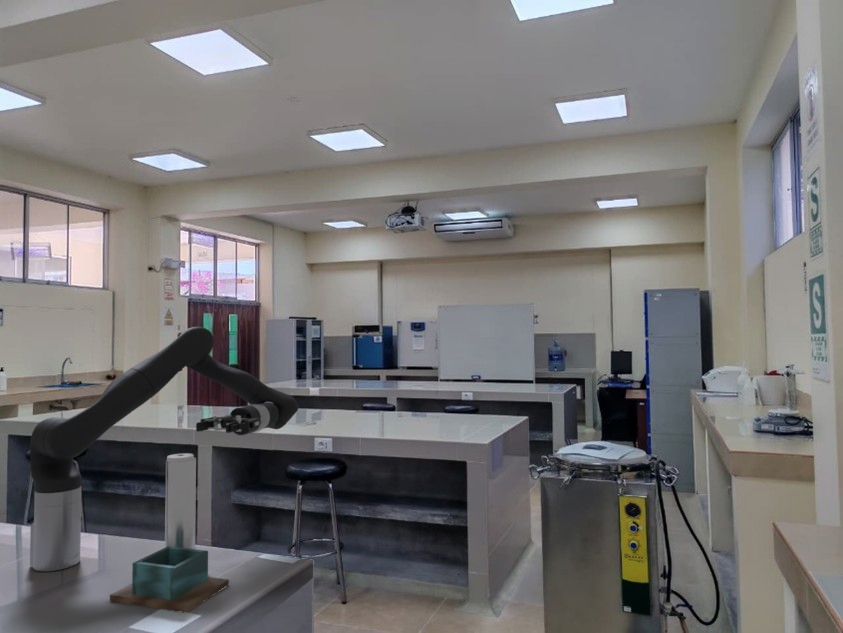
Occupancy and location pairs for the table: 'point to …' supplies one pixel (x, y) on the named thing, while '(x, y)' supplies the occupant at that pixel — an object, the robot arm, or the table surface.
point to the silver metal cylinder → (180, 501)
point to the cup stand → (170, 580)
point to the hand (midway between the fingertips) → (212, 427)
